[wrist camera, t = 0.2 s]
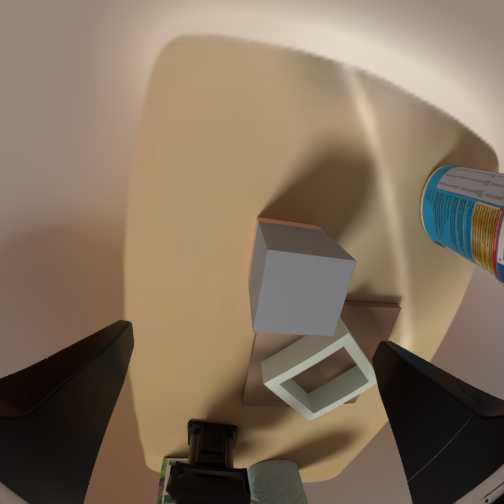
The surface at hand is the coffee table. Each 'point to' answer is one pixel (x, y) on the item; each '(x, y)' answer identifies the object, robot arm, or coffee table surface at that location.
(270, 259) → the banded block
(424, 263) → the coffee table surface
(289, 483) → the grey green cup
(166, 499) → the syrup box
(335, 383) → the holder collar
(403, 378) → the robot arm
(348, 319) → the walnut board
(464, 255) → the beverage bottle
